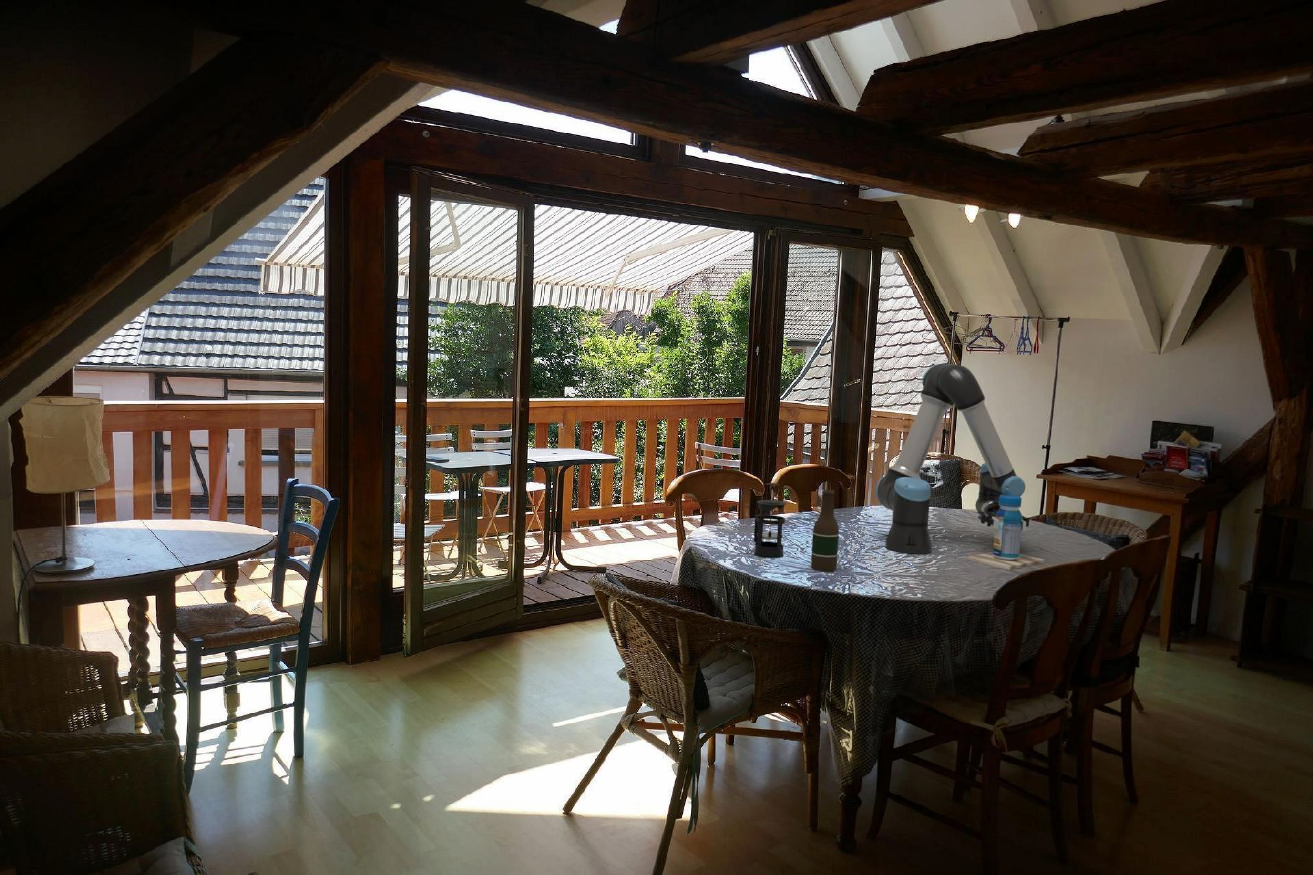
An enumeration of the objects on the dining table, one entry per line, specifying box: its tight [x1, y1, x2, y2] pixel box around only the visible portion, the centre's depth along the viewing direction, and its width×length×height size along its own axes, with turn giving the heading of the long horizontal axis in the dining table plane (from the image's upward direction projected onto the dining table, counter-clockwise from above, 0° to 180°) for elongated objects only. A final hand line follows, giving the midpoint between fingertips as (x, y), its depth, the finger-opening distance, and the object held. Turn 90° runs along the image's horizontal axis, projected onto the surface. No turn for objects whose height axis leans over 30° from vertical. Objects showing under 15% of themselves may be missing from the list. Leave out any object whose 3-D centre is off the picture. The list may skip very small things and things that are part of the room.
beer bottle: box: [810, 489, 840, 573], centre depth 287 cm, size 8×8×24 cm
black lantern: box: [753, 482, 787, 559], centre depth 303 cm, size 12×9×23 cm
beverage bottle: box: [992, 495, 1023, 560], centre depth 308 cm, size 8×8×20 cm
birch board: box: [966, 551, 1045, 571], centre depth 309 cm, size 20×15×1 cm
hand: (1010, 525), depth 305 cm, fingers closed on beverage bottle, 8 cm apart
